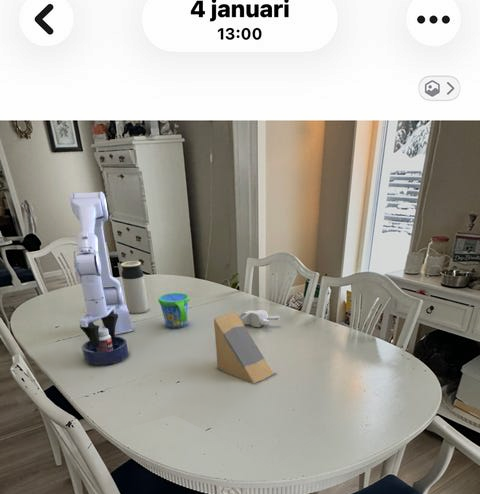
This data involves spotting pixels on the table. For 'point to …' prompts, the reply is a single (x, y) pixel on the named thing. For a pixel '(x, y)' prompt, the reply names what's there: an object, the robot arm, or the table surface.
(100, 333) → the pill bottle
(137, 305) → the travel mug
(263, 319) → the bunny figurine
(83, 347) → the bowl
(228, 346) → the sandwich container
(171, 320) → the snack cup
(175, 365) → the table surface
